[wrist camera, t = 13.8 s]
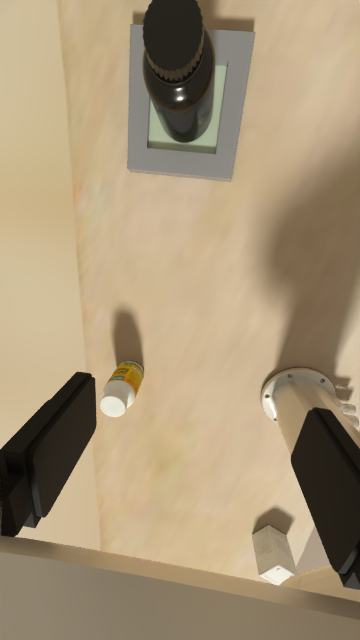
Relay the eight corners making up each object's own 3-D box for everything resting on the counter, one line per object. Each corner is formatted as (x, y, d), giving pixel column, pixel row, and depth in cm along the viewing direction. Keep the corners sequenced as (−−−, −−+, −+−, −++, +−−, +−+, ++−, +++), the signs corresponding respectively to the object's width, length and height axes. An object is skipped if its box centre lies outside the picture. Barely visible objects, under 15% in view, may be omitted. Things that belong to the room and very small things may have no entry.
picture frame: (252, 43, 26) (255, 31, 25) (230, 181, 31) (231, 178, 30) (134, 36, 27) (130, 24, 26) (131, 171, 32) (127, 168, 30)
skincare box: (251, 534, 56) (257, 575, 49) (268, 523, 54) (278, 565, 47) (269, 545, 57) (278, 587, 50) (287, 535, 55) (299, 578, 48)
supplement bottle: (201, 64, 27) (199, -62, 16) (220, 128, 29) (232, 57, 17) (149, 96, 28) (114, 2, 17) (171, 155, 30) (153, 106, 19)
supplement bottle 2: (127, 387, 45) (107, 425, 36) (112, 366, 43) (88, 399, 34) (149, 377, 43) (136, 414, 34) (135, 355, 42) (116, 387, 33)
